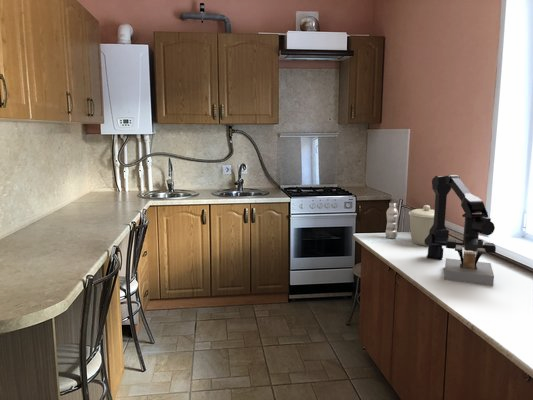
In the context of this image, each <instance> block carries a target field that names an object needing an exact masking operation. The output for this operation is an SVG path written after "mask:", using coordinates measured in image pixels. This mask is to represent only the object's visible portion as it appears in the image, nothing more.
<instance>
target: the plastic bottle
mask: <svg viewBox="0 0 533 400" xmlns="http://www.w3.org/2000/svg"><path fill="white" fill-rule="evenodd" d="M388 204H389V205H388V206H389V207H388V208H387V210H386V229H385V232H384V233H385V236H386V238H388V239H396V238H397V237H398V226H397V225H398V217H399V211H398V208H397V202H389V203H388Z"/></svg>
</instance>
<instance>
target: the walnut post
mask: <svg viewBox="0 0 533 400" xmlns="http://www.w3.org/2000/svg"><path fill="white" fill-rule="evenodd" d="M475 257H476V251H466V250H464V251H463V267H462V268H466V269H474V268H475Z"/></svg>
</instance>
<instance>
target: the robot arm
mask: <svg viewBox="0 0 533 400" xmlns="http://www.w3.org/2000/svg"><path fill="white" fill-rule="evenodd" d="M431 188H432V190H433V192H434V195H435V196H434V197H435V199H434V209H433V210H434V224H433V226H432V227H431V229H430V231H429V235H428V236H427V237H426V239H425V244H426V245H428V246H427V247H428V248H427V256H426V258H427V259H431V260H440V261H441V260H443V259H442V258H444V248H443V247H445V248H446V249H453V250H454V251H456V252H457V253H458V255H459V260H461V263H462V265H463V254H464V251H468V252H475V254H476V256H475V266H476V264H477V262H479V259H480V258H481V256H482V255H485V254H486V253H488V254H489V253H491V254H495V253H496V249H497V248H496V244H495V243H494V242H484V239H479V235H480V234H481V235H484V236H490V235H492V234H493V233H494V231H495V224H494V222H492V218H491V217H489V213H488V211H487V208H486V206H485V202H484V201H483V199H480V197H478V196H477V195H474V194H472V193H471V191H470V190H469V188H468V187H467V186H466V184H464V183H463V181H462V180H461V178H460V176H459V175H457V174H448V175H435V176H433V177H432V180H431ZM451 190H453V192H454V193H455V194H456V196H457V197H458V199H459V200H460V202H461V204H460V206H461V209H462V210H463V212H464V213H463V214H462V218H464V223H463V224H464V225H463V227H464V228H463V239H462V242H459V241H457V239H454V238H453V239H452V238H451V239H450V237H449V235H450V231H449V229H447V226H446V225H445V224H446V215H447V214H446V212H447V197H448V194H449V193H450V191H451ZM463 248H464V249H463ZM463 250H464V251H463Z"/></svg>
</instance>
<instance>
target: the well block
mask: <svg viewBox="0 0 533 400" xmlns="http://www.w3.org/2000/svg"><path fill="white" fill-rule="evenodd" d="M444 263H445V265H444V281H445V280H446V281H452V282H453V281H454V282H461V283H469V284H470V283H471V284H478V285H483V286H494V281H495V274H494V270H493V267H492V264H491V262H485V261H478V262H477V264H476V266H475V268H474V269H466V268H462V267H463V265H462V263H461V259H459V258H458V259H456V258H447V257H446V258H445V262H444Z"/></svg>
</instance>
